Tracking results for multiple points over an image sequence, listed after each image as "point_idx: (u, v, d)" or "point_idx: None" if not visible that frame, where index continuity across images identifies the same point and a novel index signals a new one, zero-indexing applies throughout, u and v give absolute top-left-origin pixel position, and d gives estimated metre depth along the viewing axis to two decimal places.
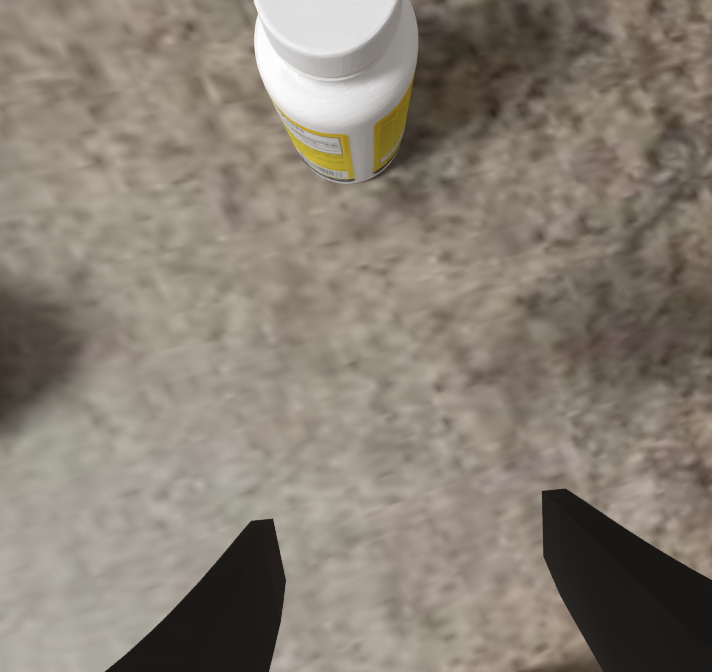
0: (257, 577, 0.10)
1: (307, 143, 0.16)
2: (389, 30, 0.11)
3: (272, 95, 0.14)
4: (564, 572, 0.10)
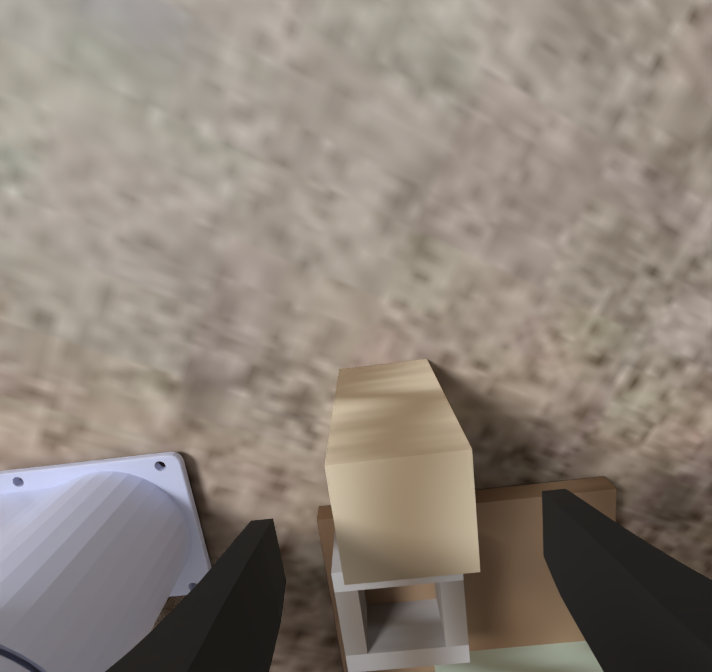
0: (257, 577, 0.10)
1: None
2: None
3: None
4: (564, 572, 0.10)
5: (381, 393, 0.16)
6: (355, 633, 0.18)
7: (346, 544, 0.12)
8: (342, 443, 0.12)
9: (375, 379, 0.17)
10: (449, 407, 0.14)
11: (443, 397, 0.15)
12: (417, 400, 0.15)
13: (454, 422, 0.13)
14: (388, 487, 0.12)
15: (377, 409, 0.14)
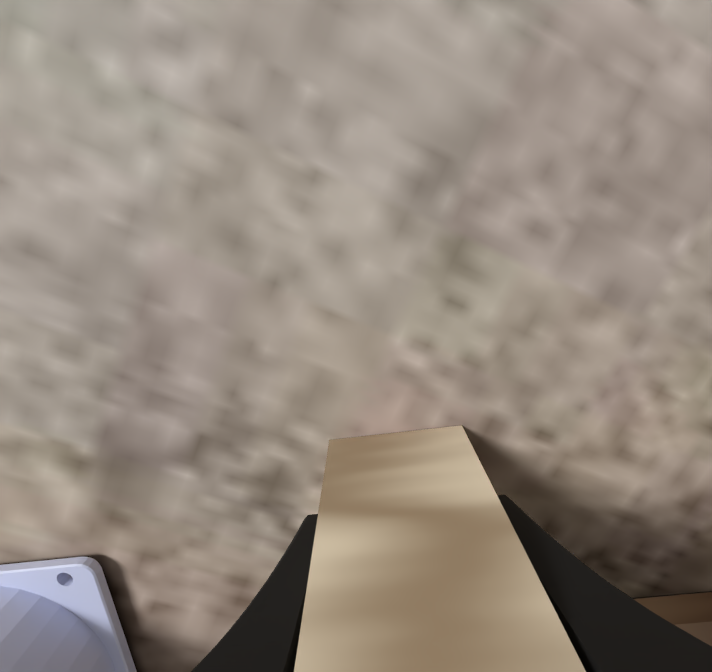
0: None
1: None
2: None
3: None
4: None
5: (397, 505, 0.09)
6: None
7: None
8: None
9: (385, 467, 0.11)
10: (527, 561, 0.07)
11: (509, 528, 0.08)
12: (461, 532, 0.08)
13: (550, 617, 0.06)
14: None
15: (392, 554, 0.08)
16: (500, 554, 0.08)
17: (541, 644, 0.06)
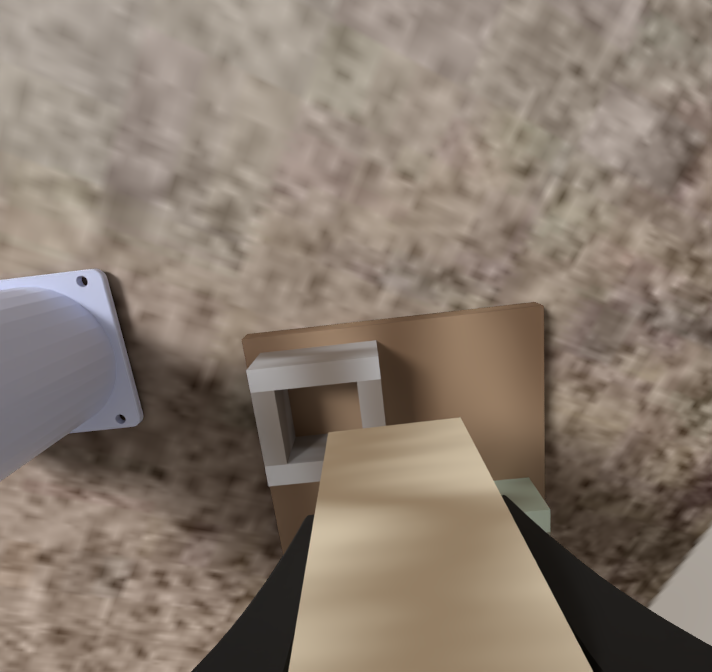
0: None
1: None
2: None
3: None
4: None
5: (395, 494, 0.09)
6: (273, 440, 0.18)
7: None
8: (321, 655, 0.06)
9: (384, 458, 0.11)
10: (525, 547, 0.07)
11: (508, 515, 0.08)
12: (459, 519, 0.08)
13: (547, 599, 0.06)
14: None
15: (390, 541, 0.08)
16: (498, 540, 0.08)
17: (538, 625, 0.06)
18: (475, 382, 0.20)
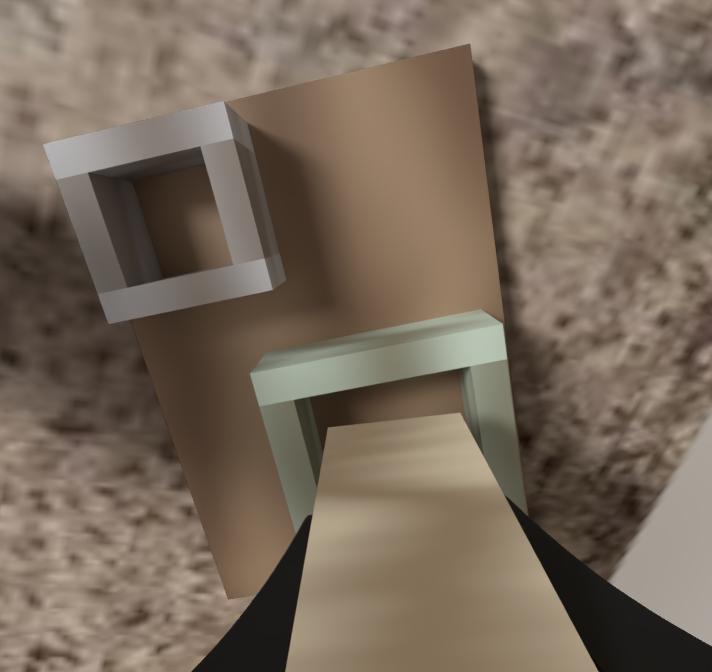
0: None
1: None
2: None
3: None
4: None
5: (394, 488, 0.09)
6: (102, 253, 0.13)
7: None
8: (320, 645, 0.06)
9: (383, 453, 0.11)
10: (524, 539, 0.07)
11: (507, 507, 0.08)
12: (459, 512, 0.08)
13: (546, 590, 0.06)
14: None
15: (389, 533, 0.08)
16: (497, 532, 0.08)
17: (537, 615, 0.06)
18: (390, 173, 0.15)
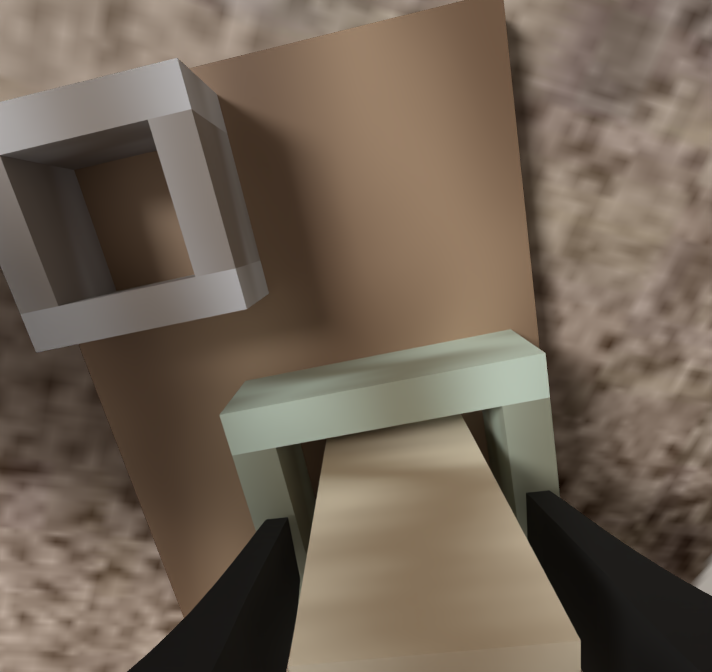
0: (274, 575, 0.10)
1: None
2: None
3: None
4: (547, 574, 0.10)
5: (392, 468, 0.10)
6: (24, 261, 0.10)
7: None
8: (326, 596, 0.07)
9: (382, 437, 0.12)
10: (508, 509, 0.08)
11: (494, 483, 0.09)
12: (450, 488, 0.09)
13: (525, 550, 0.07)
14: None
15: (387, 506, 0.09)
16: (484, 504, 0.09)
17: (516, 571, 0.07)
18: (399, 159, 0.12)
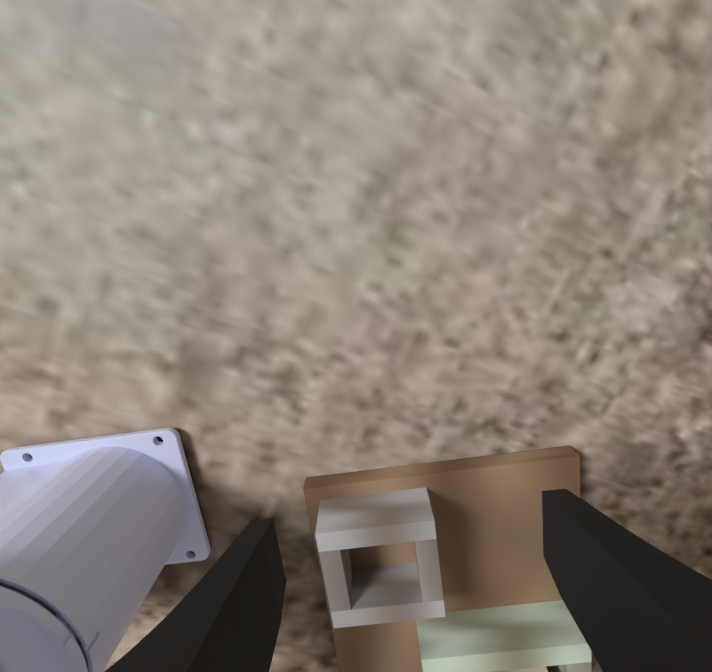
0: (257, 577, 0.10)
1: None
2: None
3: None
4: (564, 572, 0.10)
5: None
6: (339, 590, 0.20)
7: None
8: None
9: None
10: None
11: None
12: None
13: None
14: None
15: None
16: None
17: None
18: (517, 520, 0.22)
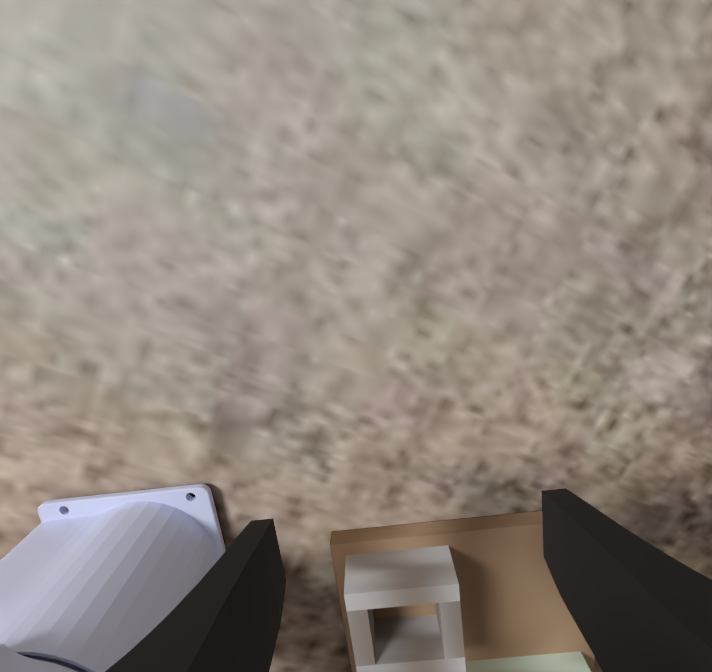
0: (257, 577, 0.10)
1: None
2: None
3: None
4: (564, 572, 0.10)
5: None
6: (364, 646, 0.21)
7: None
8: None
9: None
10: None
11: None
12: None
13: None
14: None
15: None
16: None
17: None
18: (534, 577, 0.23)
